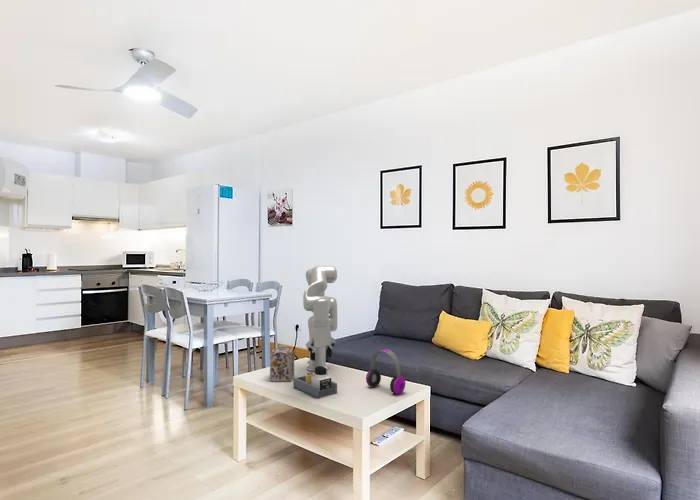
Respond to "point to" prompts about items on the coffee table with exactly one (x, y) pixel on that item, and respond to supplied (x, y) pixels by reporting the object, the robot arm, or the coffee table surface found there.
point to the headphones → (375, 377)
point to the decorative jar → (282, 364)
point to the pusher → (309, 377)
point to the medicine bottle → (321, 378)
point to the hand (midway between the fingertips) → (321, 358)
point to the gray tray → (313, 388)
